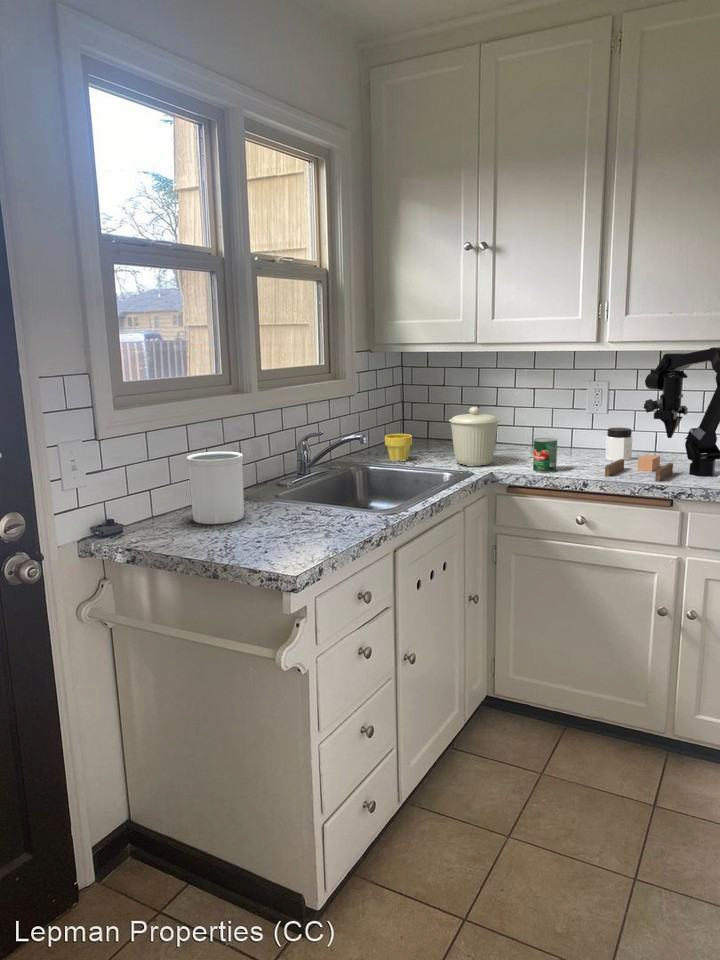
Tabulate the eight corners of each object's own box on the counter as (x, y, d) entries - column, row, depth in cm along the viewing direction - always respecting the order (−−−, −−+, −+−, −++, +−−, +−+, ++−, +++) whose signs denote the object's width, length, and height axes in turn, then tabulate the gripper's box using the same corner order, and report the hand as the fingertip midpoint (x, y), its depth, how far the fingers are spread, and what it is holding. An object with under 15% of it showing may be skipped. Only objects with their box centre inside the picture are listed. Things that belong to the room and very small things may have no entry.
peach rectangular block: (659, 468, 245) (660, 456, 245) (651, 472, 238) (652, 459, 238) (645, 467, 248) (646, 454, 247) (637, 470, 241) (638, 458, 240)
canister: (455, 459, 278) (454, 404, 273) (502, 460, 272) (503, 404, 267) (444, 467, 261) (444, 409, 257) (494, 469, 255) (495, 409, 251)
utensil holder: (210, 510, 208) (206, 449, 205) (256, 513, 203) (252, 451, 200) (180, 523, 195) (175, 458, 191) (228, 527, 190) (223, 461, 186)
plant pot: (397, 464, 270) (397, 438, 268) (379, 461, 278) (379, 435, 276) (418, 460, 276) (417, 435, 274) (399, 457, 284) (399, 432, 282)
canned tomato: (530, 472, 249) (531, 440, 247) (535, 468, 256) (536, 437, 254) (554, 473, 246) (554, 441, 244) (558, 469, 253) (559, 438, 250)
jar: (619, 464, 257) (621, 431, 255) (600, 461, 264) (602, 429, 262) (635, 461, 262) (637, 428, 260) (616, 458, 269) (618, 426, 266)
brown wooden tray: (674, 477, 235) (675, 463, 234) (661, 485, 223) (661, 471, 222) (618, 471, 246) (618, 458, 245) (602, 479, 234) (603, 465, 233)
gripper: (655, 388, 253) (652, 432, 256) (638, 393, 238) (636, 440, 242) (689, 389, 246) (686, 434, 249) (674, 394, 232) (671, 442, 235)
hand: (669, 437), depth 244 cm, fingers closed
